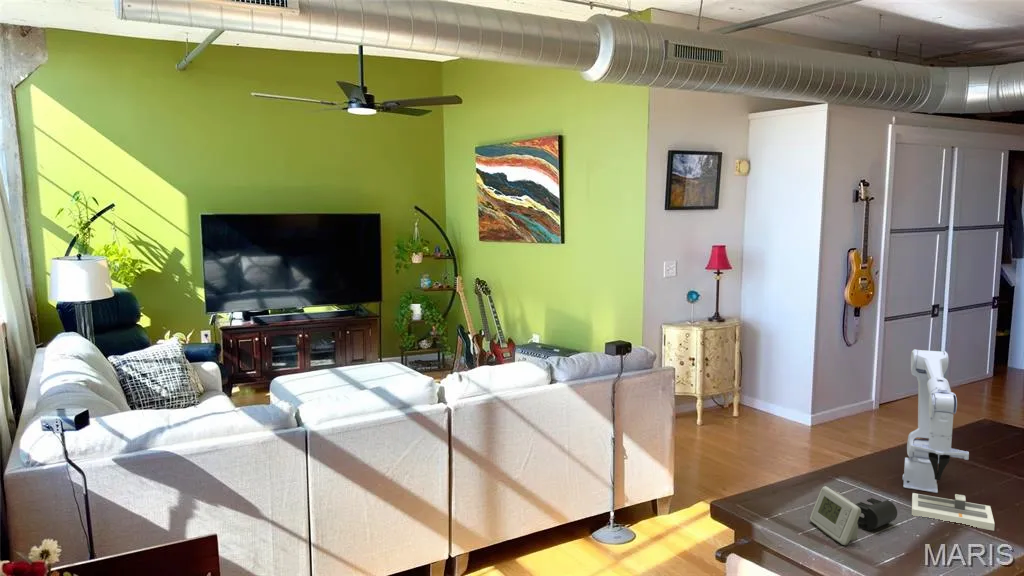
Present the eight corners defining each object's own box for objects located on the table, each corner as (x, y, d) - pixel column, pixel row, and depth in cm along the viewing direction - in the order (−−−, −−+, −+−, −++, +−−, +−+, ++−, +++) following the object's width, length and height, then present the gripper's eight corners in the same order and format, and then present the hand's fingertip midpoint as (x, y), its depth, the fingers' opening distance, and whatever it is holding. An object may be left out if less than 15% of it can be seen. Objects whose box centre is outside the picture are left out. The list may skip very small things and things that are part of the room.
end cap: (877, 535, 197) (878, 511, 196) (852, 525, 203) (854, 502, 202) (897, 526, 202) (898, 503, 201) (872, 517, 208) (874, 495, 207)
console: (911, 515, 209) (912, 505, 209) (912, 499, 221) (912, 489, 221) (994, 530, 200) (994, 520, 199) (989, 512, 212) (990, 502, 211)
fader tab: (954, 509, 208) (955, 498, 208) (954, 504, 212) (954, 493, 211) (965, 511, 207) (965, 500, 207) (964, 506, 211) (964, 495, 210)
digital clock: (807, 520, 206) (809, 484, 205) (839, 521, 205) (841, 485, 204) (830, 546, 190) (832, 507, 189) (865, 547, 189) (867, 508, 188)
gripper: (912, 433, 210) (909, 478, 212) (970, 441, 203) (967, 488, 205) (912, 427, 216) (909, 471, 218) (969, 434, 209) (965, 480, 211)
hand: (937, 478), depth 212 cm, fingers closed
